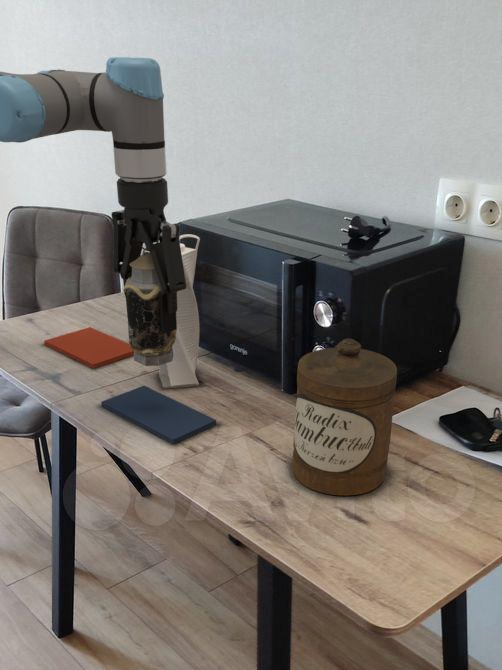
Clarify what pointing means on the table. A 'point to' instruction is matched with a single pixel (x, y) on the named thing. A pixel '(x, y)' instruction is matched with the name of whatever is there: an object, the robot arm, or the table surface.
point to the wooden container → (343, 419)
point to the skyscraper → (184, 329)
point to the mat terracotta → (91, 347)
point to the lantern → (146, 314)
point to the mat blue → (159, 414)
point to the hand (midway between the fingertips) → (151, 323)
